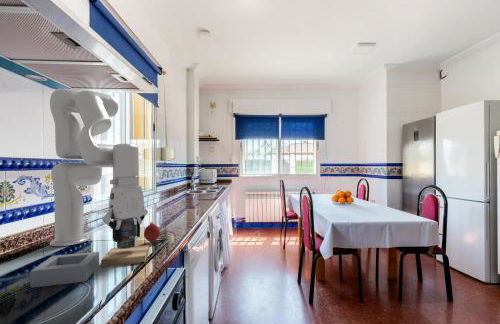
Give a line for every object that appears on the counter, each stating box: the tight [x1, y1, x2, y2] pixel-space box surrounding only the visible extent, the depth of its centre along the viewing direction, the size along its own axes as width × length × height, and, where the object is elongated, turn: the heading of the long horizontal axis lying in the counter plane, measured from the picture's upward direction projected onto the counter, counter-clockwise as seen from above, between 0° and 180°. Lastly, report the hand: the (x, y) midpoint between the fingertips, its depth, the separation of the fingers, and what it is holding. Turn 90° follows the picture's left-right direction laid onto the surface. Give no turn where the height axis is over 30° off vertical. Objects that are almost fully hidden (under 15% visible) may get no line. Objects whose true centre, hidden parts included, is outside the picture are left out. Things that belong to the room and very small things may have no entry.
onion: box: [143, 221, 161, 244], centre depth 104 cm, size 6×6×8 cm
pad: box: [100, 244, 150, 268], centre depth 86 cm, size 12×12×2 cm
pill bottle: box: [116, 218, 138, 249], centre depth 86 cm, size 6×6×11 cm
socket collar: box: [29, 251, 100, 288], centre depth 73 cm, size 12×12×4 cm
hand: (127, 238), depth 86 cm, fingers closed on pill bottle, 6 cm apart
